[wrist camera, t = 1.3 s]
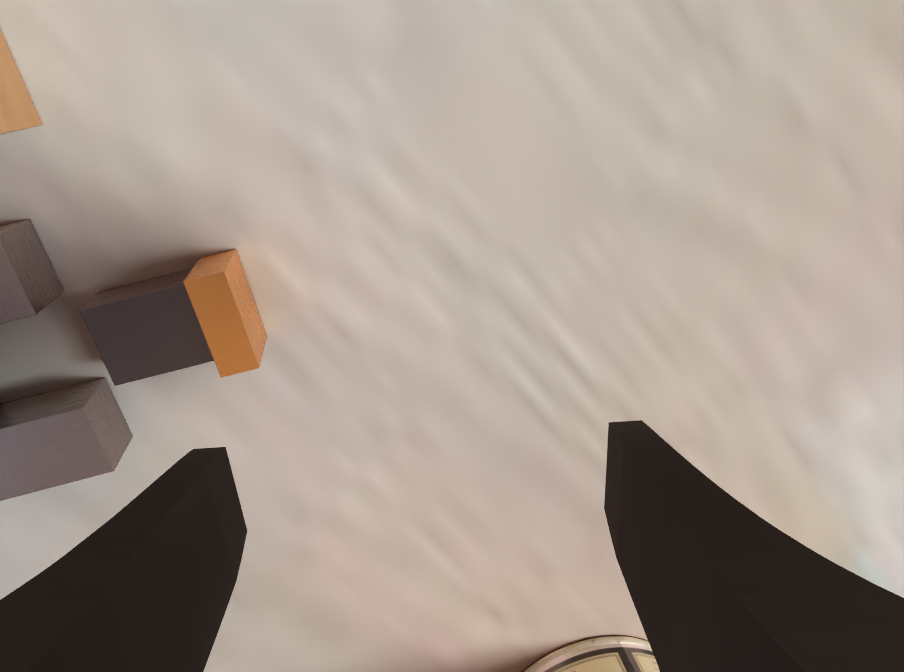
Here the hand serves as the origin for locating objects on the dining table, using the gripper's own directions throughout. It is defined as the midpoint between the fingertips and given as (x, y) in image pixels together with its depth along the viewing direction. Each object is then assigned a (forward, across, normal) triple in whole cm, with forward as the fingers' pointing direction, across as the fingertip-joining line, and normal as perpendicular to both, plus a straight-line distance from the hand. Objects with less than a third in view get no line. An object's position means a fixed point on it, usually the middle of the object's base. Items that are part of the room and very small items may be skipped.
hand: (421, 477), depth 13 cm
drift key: (+10, +8, +1) cm, 13 cm away
